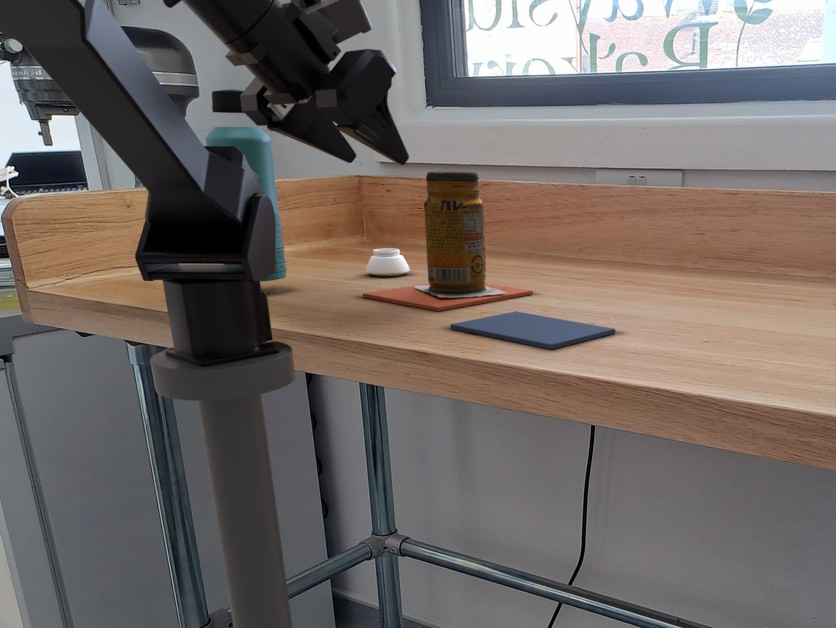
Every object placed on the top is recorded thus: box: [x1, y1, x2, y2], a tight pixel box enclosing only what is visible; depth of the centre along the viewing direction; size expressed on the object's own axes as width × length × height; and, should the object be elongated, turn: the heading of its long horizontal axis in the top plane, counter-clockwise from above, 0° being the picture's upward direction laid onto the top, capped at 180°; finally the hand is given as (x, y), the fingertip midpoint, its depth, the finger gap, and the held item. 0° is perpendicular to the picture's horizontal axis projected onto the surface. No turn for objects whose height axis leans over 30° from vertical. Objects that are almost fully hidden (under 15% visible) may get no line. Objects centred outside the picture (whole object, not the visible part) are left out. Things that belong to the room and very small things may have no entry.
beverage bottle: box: [204, 89, 287, 283], centre depth 88 cm, size 6×7×20 cm
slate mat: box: [450, 311, 616, 350], centre depth 73 cm, size 8×12×1 cm, turn 50°
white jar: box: [365, 247, 410, 277], centre depth 103 cm, size 5×3×5 cm
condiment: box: [412, 170, 506, 298], centre depth 88 cm, size 7×8×12 cm
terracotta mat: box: [362, 282, 534, 312], centre depth 90 cm, size 13×12×1 cm
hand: (378, 160), depth 81 cm, fingers open, 9 cm apart
